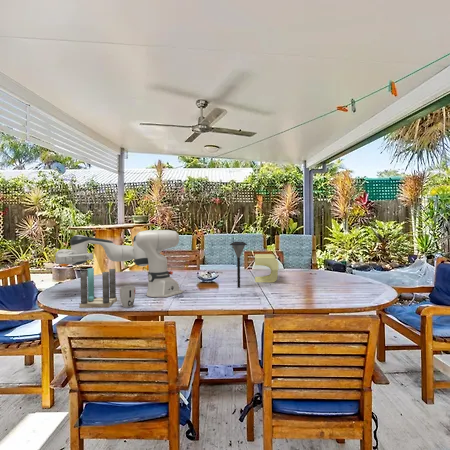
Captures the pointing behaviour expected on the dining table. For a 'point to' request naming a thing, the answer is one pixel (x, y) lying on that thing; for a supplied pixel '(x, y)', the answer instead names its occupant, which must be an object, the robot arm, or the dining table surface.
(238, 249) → the solar garden light
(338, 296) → the dining table surface
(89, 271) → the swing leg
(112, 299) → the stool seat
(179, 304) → the dining table surface
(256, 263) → the yellow curved hook shape
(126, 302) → the cup
